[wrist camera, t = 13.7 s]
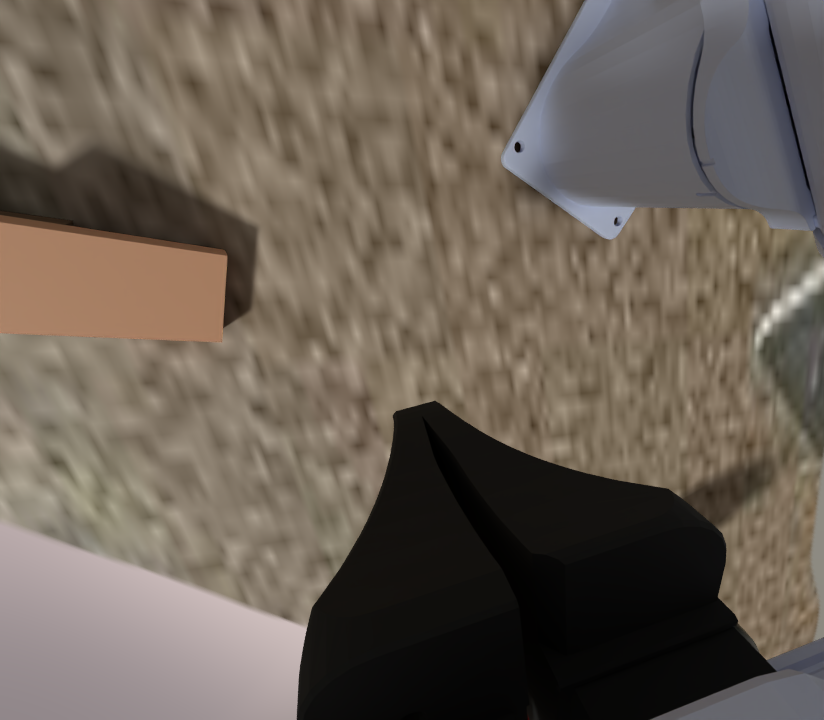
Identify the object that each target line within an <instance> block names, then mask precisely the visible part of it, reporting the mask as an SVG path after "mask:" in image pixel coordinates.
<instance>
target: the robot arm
mask: <svg viewBox="0 0 824 720" xmlns="http://www.w3.org/2000/svg"><path fill="white" fill-rule="evenodd" d="M516 142H519V143H520V145H521V149H520V152H519V153H517V152H516V151H515V148H514V146H515V143H516ZM501 162H502V165H503V166H504V167H505V168H506V169H507V170H509V171H510V172H512V173H513V174H514V175H516V176H517V177H519V178H520V179H521V180H523V181H524V182H526V183H527V184H528V185H530V186H531V187H533V188H534V189H535V190H537V191H538V192H540V193H541V194H542V195H544V196H545V197H547V198H548V199H549V200H551V201H552V202H554V203H555V204H556V205H558V206H559V207H561V208H562V209H563V210H565V211H566V212H568V213H569V214H570V215H572V216H573V217H575V218H576V219H577V220H579V221H580V222H582V223H583V224H584V225H586V226H587V227H589V228H590V229H591V230H593V231H594V232H596V233H597V234H598V235H600V236H601V237H603V238H605V239H613V238H615V237H616V236H617V235H618V234H619V232H620V231H621V229H622V228H623V226H624V225H625V223H626V222H627V220H628V219H629V217H630V216H631V214H632V213H633V211H634V209H635V208H636V207H653V208H719V209H752V210H755V211H758V212H759V213H761V214H762V215H763V216H764V217H765V218H766V220H767V222H768V224H769V226H770V228H775V229H792V230H809V231H812V230H813V234H814V238H815V242H816V245H817V248H818V251H819V253H820V254H821V255H822V256H823V257H824V0H585V1H584V2H583V4H582V6H581V8H580V10H579V12H578V14H577V15H576V17H575V19H574V21H573V23H572V25H571V27H570V28H569V30H568V32H567V34H566V36H565V38H564V39H563V41H562V43H561V45H560V47H559V49H558V51H557V52H556V54H555V56H554V58H553V60H552V62H551V64H550V65H549V67H548V69H547V71H546V73H545V75H544V77H543V78H542V80H541V82H540V84H539V86H538V88H537V89H536V91H535V93H534V95H533V97H532V99H531V101H530V102H529V104H528V106H527V108H526V110H525V112H524V114H523V115H522V117H521V119H520V121H519V123H518V125H517V127H516V128H515V130H514V132H513V134H512V136H511V138H510V139H509V141H508V143H507V145H506V147H505V149H504V151H503V153H502V156H501ZM616 217H617V218H618V221H617V223H616V224H615V225H614V220H615V218H616ZM393 419H394V434H393V442H392V448H391V454H390V458H389V462H388V466H387V470H386V474H385V477H384V480H383V483H382V486H381V489H380V492H379V495H378V497H377V500H376V502H375V505H374V507H373V509H372V511H371V514H370V516H369V518H368V520H367V522H366V524H365V526H364V528H363V530H362V532H361V534H360V536H359V538H358V539H357V541H356V543H355V544H354V546H353V548H352V550H351V551H350V553H349V555H348V556H347V558H346V560H345V562H344V563H343V565H342V566H341V568H340V569H339V571H338V572H337V574H336V575H335V576H334V578H333V579H332V581H331V582H330V584H329V585H328V586H327V588H326V589H325V591H324V592H323V593H322V595H321V596H320V598H319V599H318V600H317V602H316V603H315V604H314V606H313V607H312V610H311V614H310V618H309V623H308V627H307V631H306V636H305V641H304V647H303V652H302V659H301V665H300V672H299V686H298V705H297V720H528V717H529V720H824V638H821V639H818V640H816V641H813V642H811V643H808V644H806V645H803V646H801V647H798V648H796V649H793V650H791V651H788V652H786V653H783V654H781V655H778V656H776V657H773V658H771V659H768V660H766V659H765V658H764V657H763V656H762V655H761V654H760V653H759V652H758V651H757V650H756V649H755V648H754V647H753V646H752V645H751V644H750V643H749V642H748V641H747V640H746V639H745V638H744V637H743V636H742V635H741V634H740V633H739V632H738V631H737V630H736V628H735V626H737V623H738V620H737V618H736V616H735V614H734V613H733V612H732V611H731V610H730V609H729V608H728V607H727V606H726V605H725V604H724V603H723V602H722V601H721V600H720V599H719V598H718V593H719V589H720V585H721V580H722V576H723V572H724V567H725V563H726V543H725V540H724V537H723V535H722V533H721V532H720V531H719V530H718V529H717V528H716V527H715V526H714V525H713V524H712V523H710V522H709V521H708V520H707V519H706V518H705V517H703V516H702V515H701V514H700V513H699V512H697V511H696V510H695V509H694V508H693V507H692V506H690V505H689V504H688V503H686V502H685V501H684V500H683V499H681V498H680V497H679V496H677V495H676V494H675V493H673V492H672V491H671V490H669V489H666V488H660V487H654V486H648V485H642V484H636V483H630V482H623V481H618V480H613V479H609V478H604V477H600V476H596V475H591V474H587V473H583V472H580V471H576V470H572V469H569V468H565V467H562V466H559V465H556V464H553V463H550V462H547V461H544V460H541V459H538V458H536V457H533V456H531V455H528V454H526V453H523V452H521V451H519V450H516V449H514V448H512V447H509V446H507V445H505V444H503V443H501V442H499V441H497V440H495V439H494V438H492V437H490V436H488V435H486V434H484V433H483V432H481V431H479V430H478V429H476V428H475V427H473V426H471V425H470V424H468V423H467V422H465V421H464V420H462V419H461V418H459V417H458V416H456V415H455V414H453V413H452V412H451V411H449V410H448V409H446V408H445V407H444V406H442V405H441V404H440V403H438V402H436V401H432V402H429V403H425V404H421V405H418V406H414V407H410V408H407V409H403V410H399V411H396V412H395V413H394V415H393ZM527 714H528V716H527Z"/></svg>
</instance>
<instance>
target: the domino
mask: <svg viewBox="0 0 824 720" xmlns="http://www.w3.org/2000/svg"><path fill="white" fill-rule="evenodd" d="M226 271H227V254H226V252H225V250H223V249H216V248H210V247H204V246H197V245H191V244H184V243H178V242H171V241H165V240H159V239H152V238H146V237H139V236H133V235H126V234H120V233H113V232H107V231H101V230H94V229H88V228H81V227H75V226H68V225H62V224H56V223H49V222H43V221H36V220H30V219H23V218H17V217H10V216H4V215H0V333H10V334H34V335H58V336H82V337H106V338H130V339H154V340H178V341H202V342H222V335H223V319H224V303H225V287H226Z"/></svg>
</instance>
